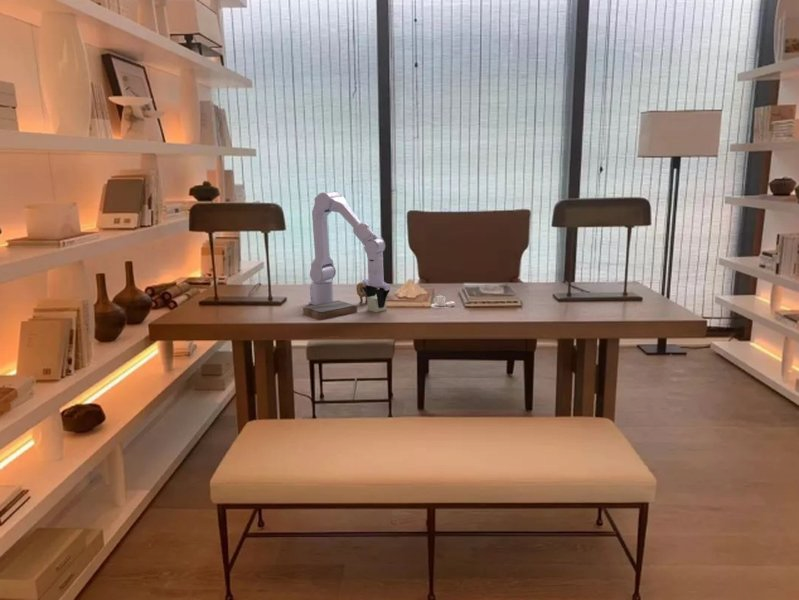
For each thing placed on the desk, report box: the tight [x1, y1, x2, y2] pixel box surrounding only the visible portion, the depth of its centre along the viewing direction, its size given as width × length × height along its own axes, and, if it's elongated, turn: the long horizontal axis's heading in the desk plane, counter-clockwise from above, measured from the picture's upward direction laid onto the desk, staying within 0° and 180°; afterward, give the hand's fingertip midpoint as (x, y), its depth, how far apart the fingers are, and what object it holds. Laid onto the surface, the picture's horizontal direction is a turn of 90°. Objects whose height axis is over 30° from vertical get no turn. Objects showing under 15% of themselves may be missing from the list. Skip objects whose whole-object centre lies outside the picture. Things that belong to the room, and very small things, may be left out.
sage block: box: [366, 295, 387, 313], centre depth 237 cm, size 5×5×5 cm
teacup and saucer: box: [430, 295, 456, 309], centre depth 242 cm, size 9×8×4 cm
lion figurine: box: [356, 281, 379, 305], centre depth 250 cm, size 15×5×9 cm, turn 152°
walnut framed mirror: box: [302, 300, 358, 321], centre depth 235 cm, size 12×16×2 cm
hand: (376, 306), depth 237 cm, fingers closed on sage block, 5 cm apart
